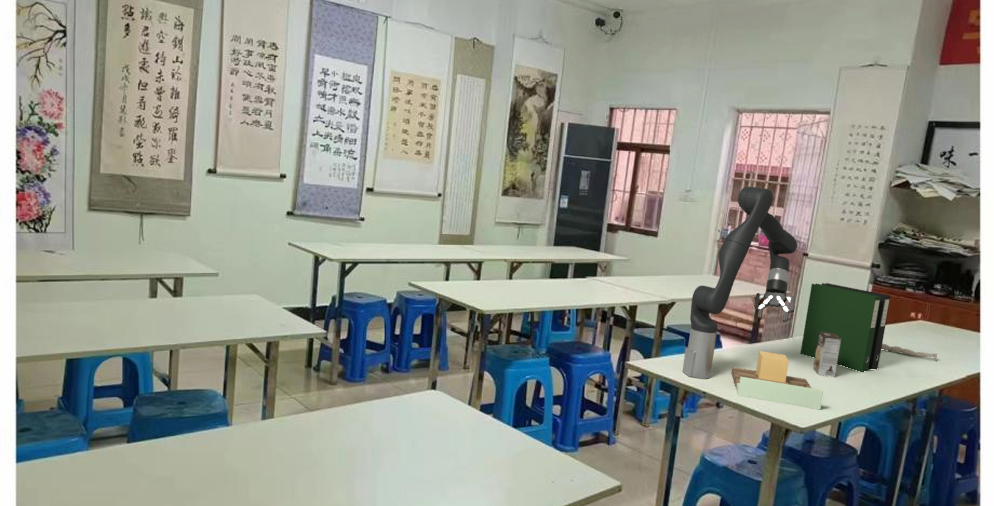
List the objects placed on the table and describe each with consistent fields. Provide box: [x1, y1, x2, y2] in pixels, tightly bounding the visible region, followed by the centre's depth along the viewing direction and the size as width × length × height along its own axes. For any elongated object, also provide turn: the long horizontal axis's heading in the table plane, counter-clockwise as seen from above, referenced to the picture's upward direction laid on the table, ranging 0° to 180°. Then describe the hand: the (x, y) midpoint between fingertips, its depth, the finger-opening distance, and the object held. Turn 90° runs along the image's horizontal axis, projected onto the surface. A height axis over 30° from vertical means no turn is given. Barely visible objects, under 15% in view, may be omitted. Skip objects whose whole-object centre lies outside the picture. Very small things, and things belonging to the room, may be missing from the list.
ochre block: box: [755, 350, 790, 382], centre depth 243 cm, size 9×9×8 cm
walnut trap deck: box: [730, 366, 812, 388], centre depth 236 cm, size 27×26×2 cm
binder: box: [800, 282, 892, 373], centre depth 287 cm, size 27×15×32 cm, turn 36°
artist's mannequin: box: [881, 343, 938, 362], centre depth 317 cm, size 28×4×30 cm
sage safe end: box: [735, 377, 824, 410], centre depth 225 cm, size 7×26×6 cm, turn 75°
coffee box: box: [812, 332, 841, 378], centre depth 265 cm, size 9×6×16 cm
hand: (772, 320), depth 255 cm, fingers open, 8 cm apart
